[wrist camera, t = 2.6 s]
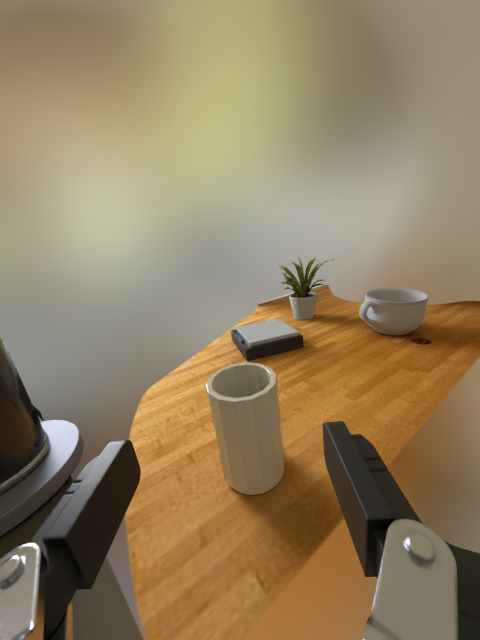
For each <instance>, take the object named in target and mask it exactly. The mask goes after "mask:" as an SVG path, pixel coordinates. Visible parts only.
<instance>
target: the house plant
mask: <svg viewBox="0 0 480 640" xmlns="http://www.w3.org/2000/svg"><path fill="white" fill-rule="evenodd" d="M314 260H315V259H313V260H311V261H310V262H309V264H308V266H307V268H306V273H305V278H304V274H303V267H302V263H301V260H300V259H299V261H300V266H301V268H300V267H299V266H298V265H297V264H295V263H293V264H294V265H295V266H296V269H297V272H298V276H299V279H300V284H301V286H300V284H299V283H298V281H297V279H296V278H295V276H294V275H293V274H292V273H291V272H290V271H289V270H288V269H287V268H285V267H283V266H282V267H283V268H284V269H283V270H285V271H286V273H288V274H289V275H290V276H291V278H290V277H289V276H287V274H285V273H283V275H284V278H285V279H286V280H287V282H284V283H285V284H288V285H291V286H292V287H293V289H292V290H293V291H294V293H293V294H291V295H290V296H289V297H290V301H291V306H292V310H293V314H294V318H295V319H298V320H307V319H311V318H313V317H314V310H315V303H316V295H317V294H316V293H315V292H309V291H310V290H311V288H312V287H315V286H318V285H323V284H316V285H314V284H315V283H316V282H318V281H321V280H318V281H316V282H315V283H314V284H313V285H314V286H313V285H312V286H311V288H310V289H309V287H310V284H311V281H312V279H313V277H314V276H315V275H314V274H315V273H316V271H317V270H318V269H319V267H320V266H321V265H323V264H324V263H325V262H327V261H325V262H323V263H322V264H321V265H320V266H319V267H318V268H317V266H318V265H319V263H318V264H317V265H316V266H315V267H314V269H313V270H312V272H311V273H310V276H309V279H308V274H309V270H310V268H311V265H312V264H313V262H314ZM328 261H329V260H328ZM282 283H283V282H282ZM284 283H283V284H284ZM324 286H325V285H324ZM285 289H290V288H288V287H287V288H285Z"/></svg>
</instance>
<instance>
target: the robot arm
mask: <svg viewBox="0 0 480 640" xmlns="http://www.w3.org/2000/svg"><path fill="white" fill-rule="evenodd" d="M37 415H38V416H39V417H40V418H41V419H42V420H43V417H42V415H41V413H40V411H38V410H37V409H36V408H35V407H34V406H33V405H32V403H31V400H30V398H29V396H28V393H27V391H26V389H25V387H24V385H23V383H22V380H21V378H20V376H19V374H18V371H17V369H16V367H15V365H14V363H13V361H12V359H11V356H10V354H9V352H8V349H7V347H6V345H5V343H4V341H3V339H2V337H1V334H0V495H2V494H4V493H5V492H7V491H8V490H10V489H11V488H13V487H14V486H16V485H17V484H18V483H20V482H21V481H22V480H24V479H25V478H26V477H27V476H29V475H30V474H31V473H32V472H33V471H34V470H35V469H36V468H37V467H38V466H39V465H40V464H41V463H42V461H43V460H44V459H45V457H46V456H47V454H48V452H49V450H50V447H51V442H50V439H49V437H48V435H47V433H46V432H45V430H44V429H43V427H42V425H41V423H40V420H39V418H38V416H37ZM43 421H44V420H43ZM323 440H324V456H325V462H326V466H327V470H328V473H329V475H330V478H331V481H332V484H333V487H334V489H335V492H336V495H337V498H338V501H339V504H340V506H341V509H342V512H343V515H344V518H345V520H346V523H347V526H348V529H349V532H350V535H351V537H352V540H353V543H354V546H355V548H356V551H357V554H358V557H359V560H360V563H361V565H362V568H363V571H364V574H365V577H375V576H376V577H377V579H378V580H377V585H376V590H375V595H374V600H373V605H372V610H371V614H370V617H369V618H368V620H367V623H366V626H365V630H364V634H363V639H362V640H480V553H476V552H472V551H468V550H465V549H462V548H459V547H456V546H454V545H451V544H449V543H447V542H446V541H444V540H443V539H442V538H441V537H440V536H439V535H438V534H437V533H436V532H434V531H433V530H432V529H430V528H429V527H427V526H426V525H424V524H423V523H422V522H421V521H420V519H419V518H418V516H417V515H416V514H415V512H414V510H413V508H412V507H411V505H410V504H409V502H408V500H407V499H406V497H405V496H404V495H403V493H402V491H401V489H400V488H399V486H398V484H397V483H396V481H395V480H394V478H393V476H392V475H391V473H390V472H389V471H388V469H387V467H386V465H385V464H384V462H383V460H381V457H380V456H379V454H378V452H377V451H376V449H375V448H374V446H373V444H371V443H370V442H369V441H368V440H367V439H365V438H364V437H363V436H362V435H361V434H357V435H351V434H350V432H349V431H348V429H347V427H346V425H345V423H344V422H343V421H338V422H327V423H323ZM139 480H140V466H139V463H138V460H137V457H136V454H135V451H134V448H133V445H132V442H131V441H130V440H124V441H113V442H110V443H108V444H107V446H106V447H105V449H104V450H103V452H102V453H101V455H100V456H97V457H95V458H94V459H93V460H92V461H91V462H90V463H89V464H87V465H86V466H85V467H84V468H83V469H82V471H81V472H80V473H79V475H78V476H77V478H76V479H75V480H74V483H73V484H71V486H70V487H69V488H68V490H67V491H66V494H65V495H63V497H62V498H61V499H60V501H59V502H58V504H57V505H56V506H55V508H54V509H53V510H52V512H51V513H50V515H49V516H48V517H47V519H46V520H45V521H44V523H43V524H42V526H41V527H40V528H39V530H38V531H37V532H36V534H35V535H34V536H33V538H32V539H31V540H30V542H29V543H26V544H23V545H21V546H19V547H17V548H15V549H13V550H12V551H10V552H8V553H7V554H6V555H5V556H3V557H2V558H1V559H0V640H73V612H72V605H71V600H72V598H73V596H74V594H75V592H76V590H79V589H91V588H92V586H93V584H94V582H95V579H96V577H97V575H98V573H99V571H100V568H101V566H102V564H103V562H104V559H105V557H106V555H107V553H108V550H109V548H110V546H111V544H112V542H113V540H114V537H115V535H116V533H117V531H118V528H119V526H120V524H121V522H122V519H123V517H124V515H125V513H126V511H127V508H128V506H129V504H130V502H131V500H132V497H133V495H134V493H135V491H136V489H137V486H138V484H139Z"/></svg>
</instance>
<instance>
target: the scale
mask: <svg viewBox="0 0 480 640" xmlns="http://www.w3.org/2000/svg"><path fill="white" fill-rule="evenodd" d="M236 329H237V330H232V331H231V335H232V340H233V342H234V343H235V344H236V346H237V347H238V349H239V350H240V352H241V353H242V354H243V356H244V357H245V359H246V360H247V361H249V360H253V359H257V358H261V357H265V356H269V355H273V354H277V353H282V352H286V351H290V350H294V349H298V348H302V347H303V336H302V335H300V334H299V331H297V330H295V329H294V328H292V327H291V326H289V325H287V324H286V323H284V322H283V321H281V320H279V319H273V320H269V321H264V322H259V323H255V324H250V325H245V326H241V327H236Z"/></svg>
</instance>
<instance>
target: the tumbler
mask: <svg viewBox="0 0 480 640" xmlns="http://www.w3.org/2000/svg"><path fill="white" fill-rule="evenodd" d="M206 387H207V392H208V397H209V402H210V407H211V413H212V418H213V423H214V428H215V433H216V438H217V443H218V448H219V453H220V458H221V464H222V468H223V473H224V477H225V479H226V481H227V483H228V484H229V485H230V486H231V487H232V488H233V489H234V490H236V491H238V492H240V493H242V494H247V495H257V494H262V493H265V492H267V491H269V490H271V489H272V488H274V487H275V486H276V485H277V484H278V483H279V481H280V480H281V478H282V476H283V473H284V449H283V439H282V428H281V418H280V407H279V397H278V386H277V376H276V374H275V373H274V371H273V370H272V369H271V368H270V367H267V366H265V365H262V364H259V363H239V364H232V365H230V366H227V367H224V368H221V369H220V370H218V371H217V372H215V373H214V374H213V375H211V376H210V378H209V380H208V382H207V384H206Z"/></svg>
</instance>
